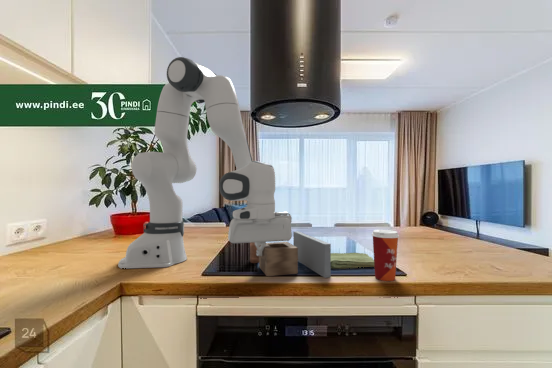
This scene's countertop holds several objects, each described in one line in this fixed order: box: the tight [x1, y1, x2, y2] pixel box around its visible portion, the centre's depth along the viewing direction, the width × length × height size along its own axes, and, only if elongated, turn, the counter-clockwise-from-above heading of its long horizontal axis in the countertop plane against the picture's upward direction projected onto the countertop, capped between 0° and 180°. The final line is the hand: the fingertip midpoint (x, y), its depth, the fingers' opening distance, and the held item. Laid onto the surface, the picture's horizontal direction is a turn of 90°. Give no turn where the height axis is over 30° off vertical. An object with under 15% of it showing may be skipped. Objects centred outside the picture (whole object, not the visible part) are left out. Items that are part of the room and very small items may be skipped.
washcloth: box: [331, 252, 374, 270], centre depth 103 cm, size 13×18×3 cm
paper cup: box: [371, 229, 400, 282], centre depth 87 cm, size 8×8×14 cm
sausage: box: [249, 242, 259, 264], centre depth 104 cm, size 4×4×12 cm
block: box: [258, 241, 299, 277], centre depth 94 cm, size 10×10×8 cm
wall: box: [292, 230, 332, 279], centre depth 98 cm, size 2×24×10 cm, turn 19°
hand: (260, 255), depth 92 cm, fingers closed, pressing on block
